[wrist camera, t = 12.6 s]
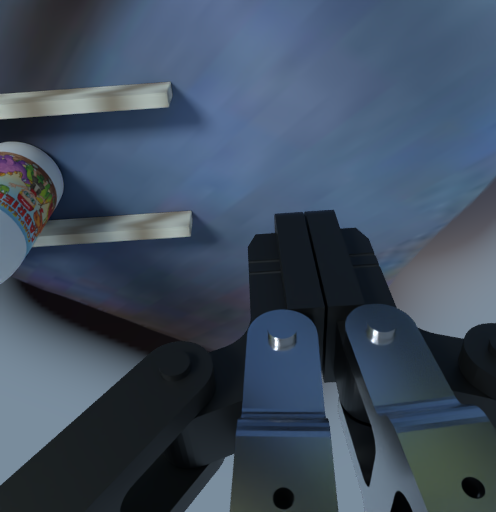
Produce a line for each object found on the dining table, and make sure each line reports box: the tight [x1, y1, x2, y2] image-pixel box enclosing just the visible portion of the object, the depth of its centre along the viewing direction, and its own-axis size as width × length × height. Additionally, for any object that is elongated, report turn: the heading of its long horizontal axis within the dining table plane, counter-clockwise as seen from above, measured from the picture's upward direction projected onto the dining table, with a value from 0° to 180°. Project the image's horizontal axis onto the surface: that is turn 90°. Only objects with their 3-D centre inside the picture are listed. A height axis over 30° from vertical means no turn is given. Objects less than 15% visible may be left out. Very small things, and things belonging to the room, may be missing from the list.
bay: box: [0, 82, 193, 247], centre depth 44 cm, size 22×14×4 cm, turn 94°
